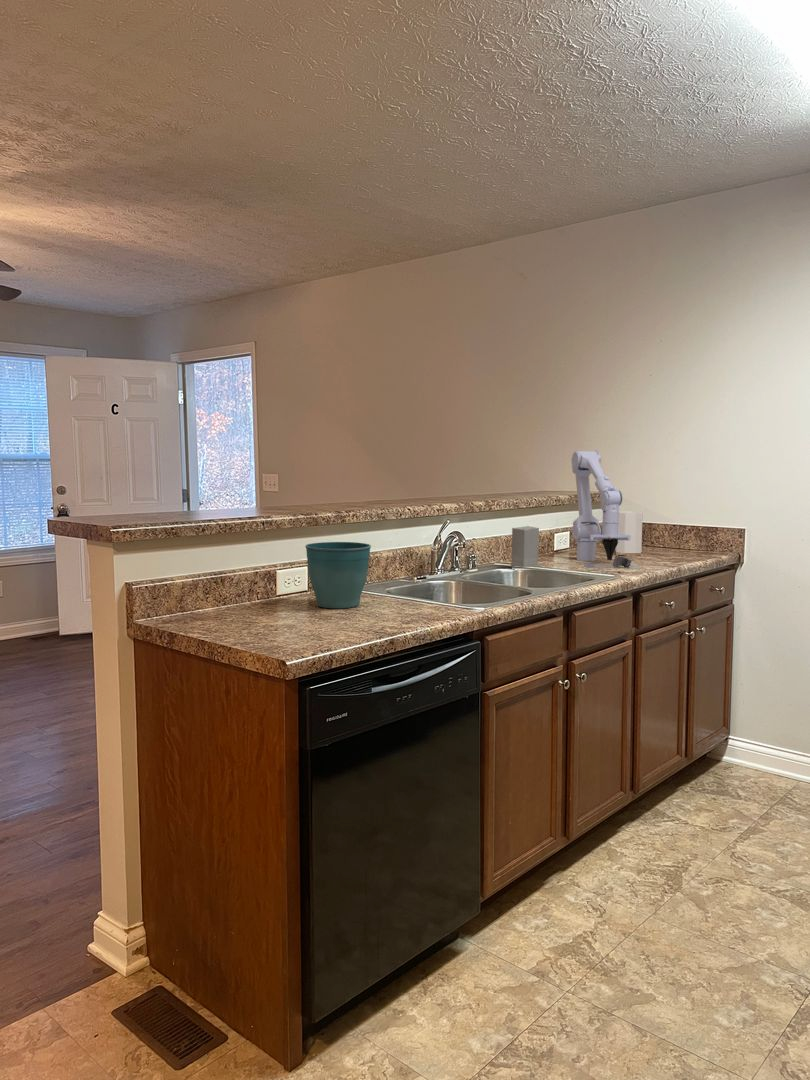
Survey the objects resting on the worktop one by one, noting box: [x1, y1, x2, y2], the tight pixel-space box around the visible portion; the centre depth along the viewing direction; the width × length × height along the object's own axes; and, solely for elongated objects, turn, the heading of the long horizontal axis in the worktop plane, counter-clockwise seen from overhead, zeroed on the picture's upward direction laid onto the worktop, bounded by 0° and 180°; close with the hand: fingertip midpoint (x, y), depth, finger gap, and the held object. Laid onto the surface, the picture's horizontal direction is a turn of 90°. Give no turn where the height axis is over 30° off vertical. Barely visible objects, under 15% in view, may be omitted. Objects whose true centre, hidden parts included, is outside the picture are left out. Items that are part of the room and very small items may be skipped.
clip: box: [612, 554, 632, 567], centre depth 297 cm, size 5×5×4 cm
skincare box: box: [510, 525, 540, 568], centre depth 298 cm, size 8×7×16 cm
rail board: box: [581, 562, 644, 570], centre depth 298 cm, size 14×20×2 cm
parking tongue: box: [554, 561, 579, 566], centre depth 304 cm, size 8×8×2 cm
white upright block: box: [614, 510, 644, 553], centre depth 344 cm, size 11×11×18 cm
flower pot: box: [305, 541, 372, 609], centre depth 223 cm, size 18×18×17 cm
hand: (609, 559), depth 297 cm, fingers closed
